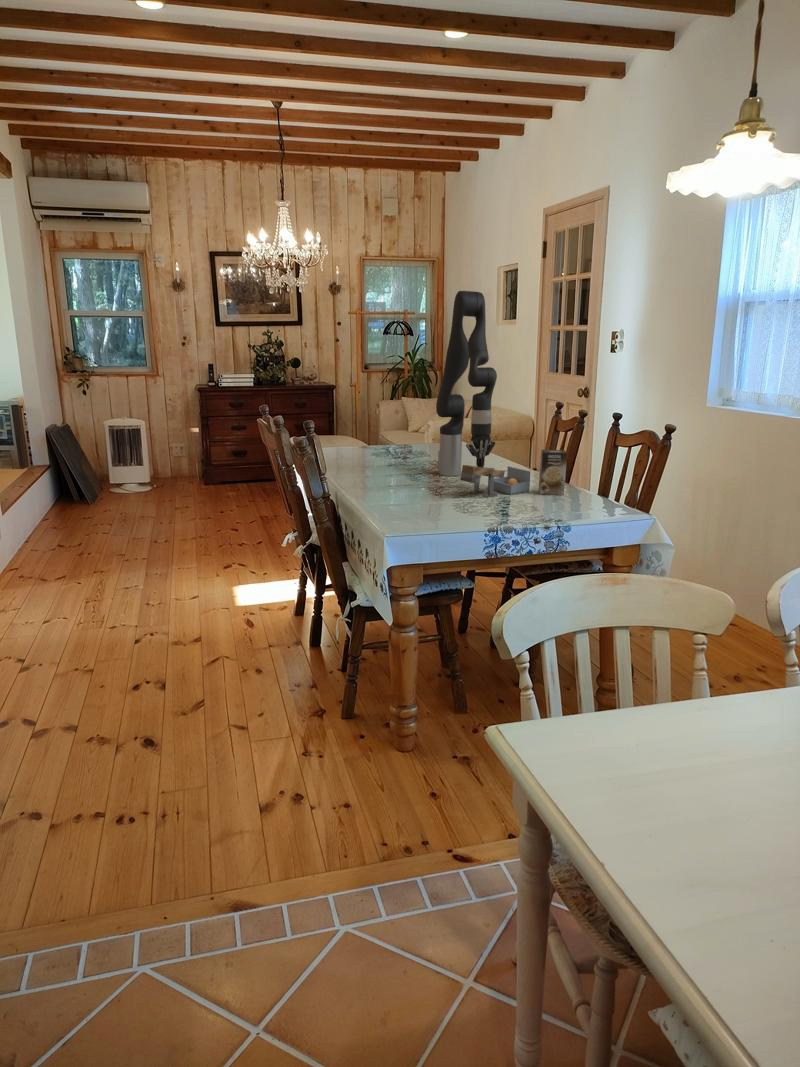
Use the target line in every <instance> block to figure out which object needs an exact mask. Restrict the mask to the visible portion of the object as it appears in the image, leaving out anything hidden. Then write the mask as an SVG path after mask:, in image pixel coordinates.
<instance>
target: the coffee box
mask: <svg viewBox="0 0 800 1067" xmlns="http://www.w3.org/2000/svg"><path fill="white" fill-rule="evenodd" d="M567 460H568V452H567V451H566V450H565V449H564V450H563V449H562V450H561V449H541V451H540V463H539V464H540V466H539V478H538V479H539V480H538V495H541V494H546V495H547V496H565V486H566V474H567V473H566V471H567ZM546 495H545V496H546Z"/></svg>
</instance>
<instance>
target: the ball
mask: <svg viewBox="0 0 800 1067" xmlns="http://www.w3.org/2000/svg"><path fill="white" fill-rule="evenodd" d="M515 483H518V482H517V480H516V479H514V478H511V479H509V480H508V482H507V484H508V485H512V484H515Z"/></svg>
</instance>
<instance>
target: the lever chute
mask: <svg viewBox="0 0 800 1067" xmlns="http://www.w3.org/2000/svg"><path fill="white" fill-rule="evenodd" d="M505 472H506V471H505V470H501V469H500V470H499V469H495V468H494V467H493V468H492V467H485V466H484V467H477V465H467V464H462V466H461V475H460V481H464V482H467V483H470V484H474V483H477V484H479V485H480V483H481V478H482V476H483V477H488V474H489V473H493V474H494V475H495V476H494V478H504V477H505Z"/></svg>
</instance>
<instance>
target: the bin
mask: <svg viewBox="0 0 800 1067" xmlns="http://www.w3.org/2000/svg"><path fill="white" fill-rule="evenodd" d="M506 474H507V475H506V476H504V478H499V477H494V487H493V491H495V490H496V492H498V491H500V492H499V493H502V492H503V494H505V493H506V494H507V495H509V494H510V496H513V494H514V495H520V494H519V493H521V494H525V493H524V492H527V493H530V487H531V484H530V483H531V470H526V469H522V468H518V467H513V466H509V465H508V466H507V470H506ZM511 478H514V479H516V480H517V482H518V483H515V484H512V485H508V484H507V482H508V480H509V479H511Z"/></svg>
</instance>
